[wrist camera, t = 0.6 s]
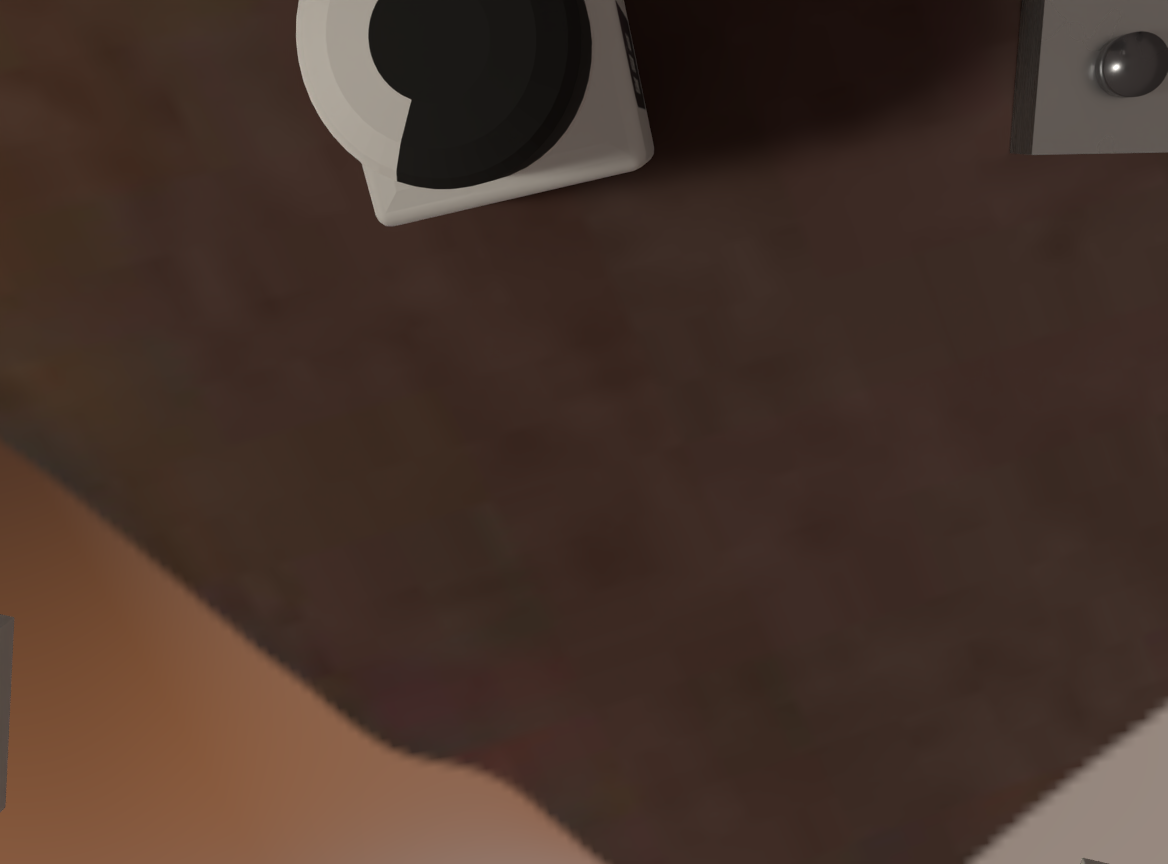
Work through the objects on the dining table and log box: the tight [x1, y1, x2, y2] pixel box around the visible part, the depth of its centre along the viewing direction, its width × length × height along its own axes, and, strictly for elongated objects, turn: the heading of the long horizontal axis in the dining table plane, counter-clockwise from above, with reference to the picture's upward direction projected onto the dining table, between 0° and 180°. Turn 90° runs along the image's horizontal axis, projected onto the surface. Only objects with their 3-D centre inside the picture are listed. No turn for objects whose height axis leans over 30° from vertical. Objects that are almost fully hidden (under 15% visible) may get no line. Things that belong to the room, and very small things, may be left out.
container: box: [296, 0, 654, 226], centre depth 30 cm, size 8×8×13 cm
